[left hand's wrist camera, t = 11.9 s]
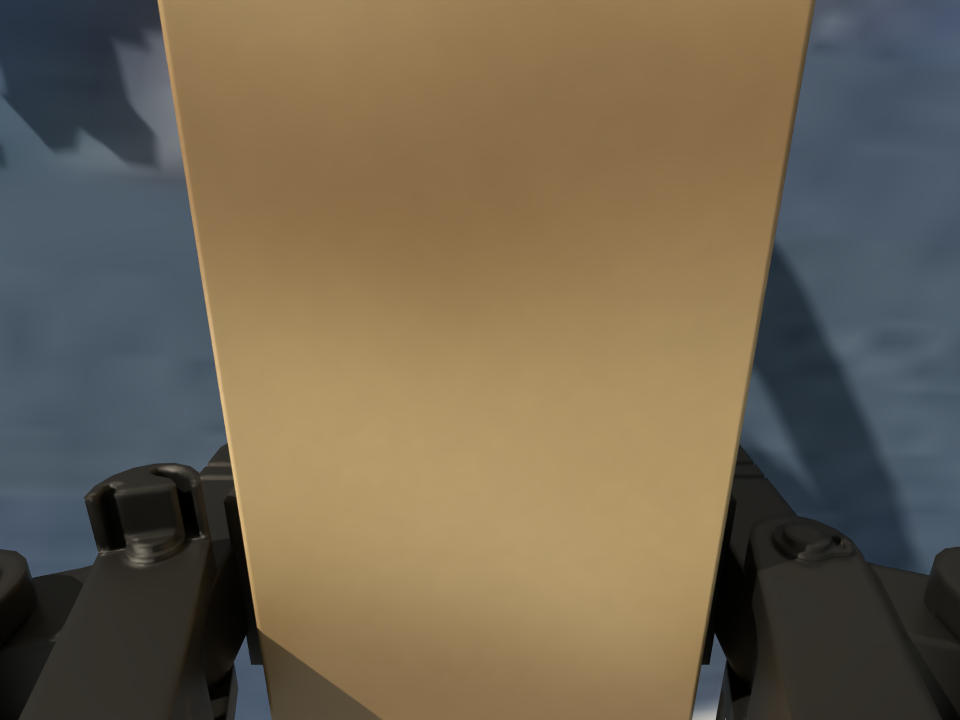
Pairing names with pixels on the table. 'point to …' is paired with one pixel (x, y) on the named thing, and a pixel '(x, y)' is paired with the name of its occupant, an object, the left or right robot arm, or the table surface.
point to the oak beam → (484, 333)
